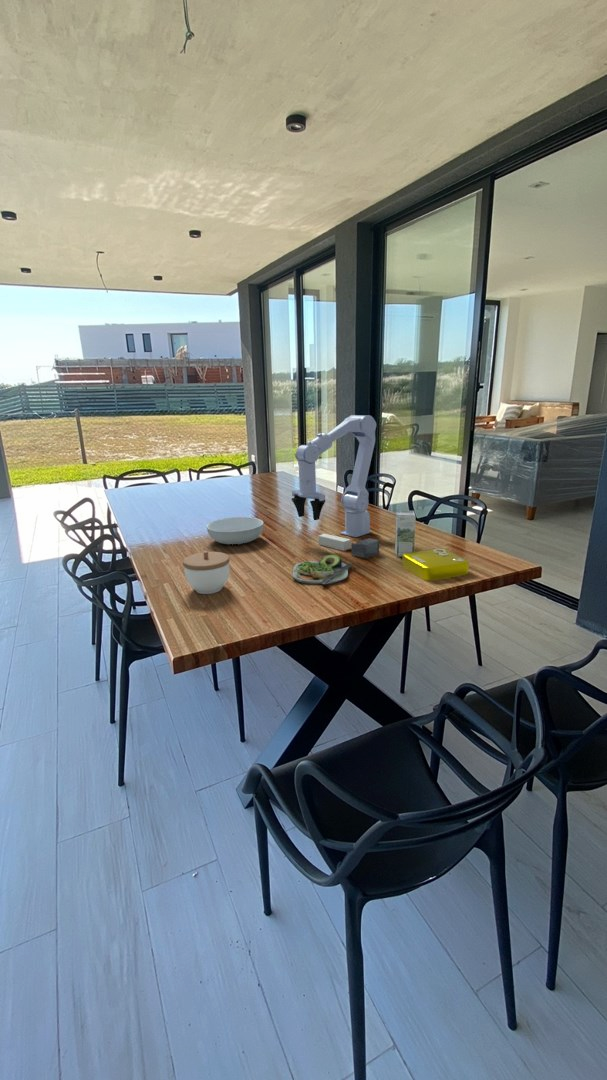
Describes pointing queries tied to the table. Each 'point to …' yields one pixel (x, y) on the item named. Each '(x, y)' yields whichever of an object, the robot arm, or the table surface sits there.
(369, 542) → the dark gray block
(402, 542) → the syrup box
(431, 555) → the element tile
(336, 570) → the salad plate
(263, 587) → the table surface
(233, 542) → the serving bowl
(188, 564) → the lidded sugar bowl
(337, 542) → the gray rectangular block
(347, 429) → the robot arm
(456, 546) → the table surface
